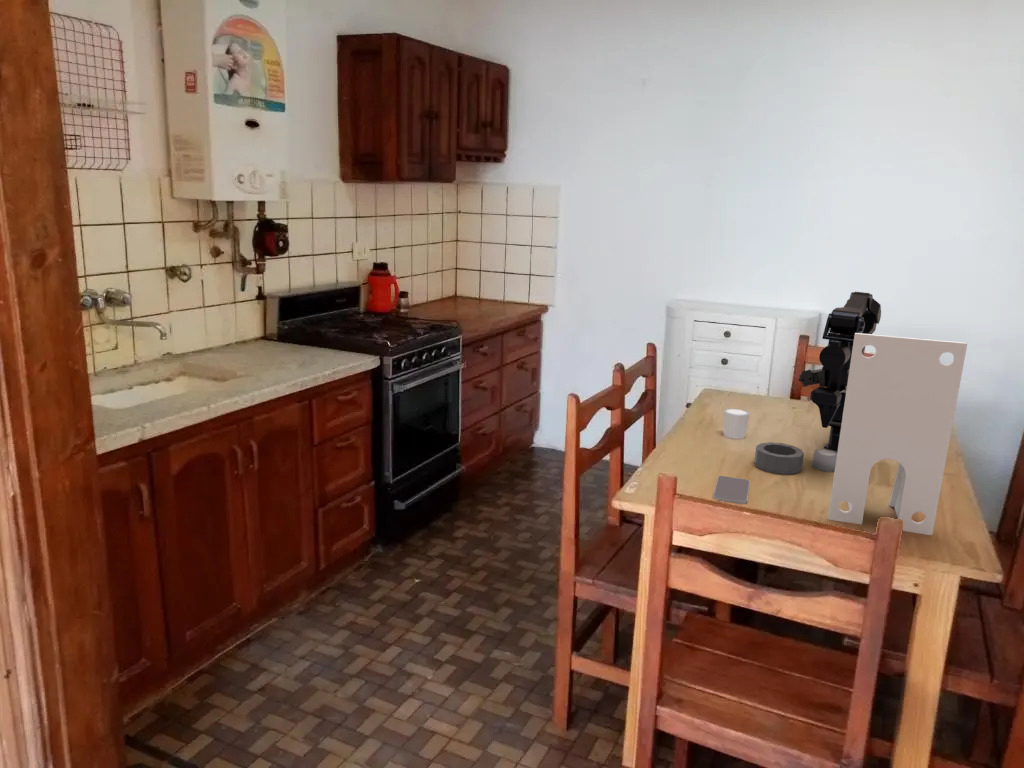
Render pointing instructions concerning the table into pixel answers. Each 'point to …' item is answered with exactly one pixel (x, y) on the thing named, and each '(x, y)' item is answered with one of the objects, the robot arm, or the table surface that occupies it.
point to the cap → (824, 460)
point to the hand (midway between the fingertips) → (830, 423)
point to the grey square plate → (732, 489)
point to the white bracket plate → (897, 425)
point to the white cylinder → (735, 423)
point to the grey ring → (779, 458)
